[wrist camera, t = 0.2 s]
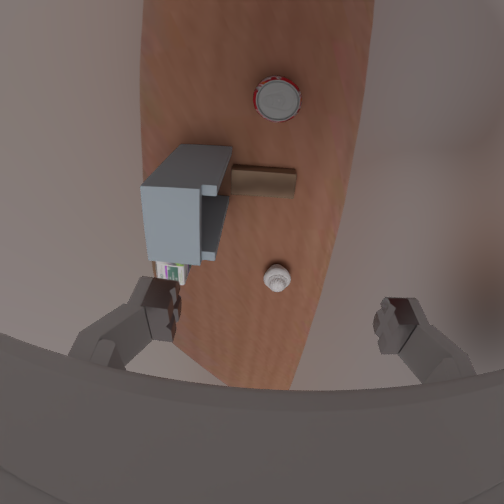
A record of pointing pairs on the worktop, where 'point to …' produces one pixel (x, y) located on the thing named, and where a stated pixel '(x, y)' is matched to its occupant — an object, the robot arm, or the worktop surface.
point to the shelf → (186, 204)
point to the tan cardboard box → (263, 181)
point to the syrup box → (172, 271)
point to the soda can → (277, 99)
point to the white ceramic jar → (277, 278)
